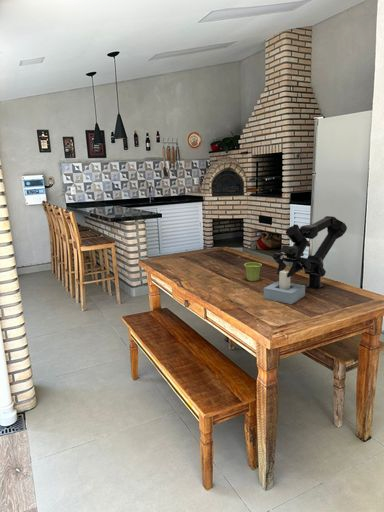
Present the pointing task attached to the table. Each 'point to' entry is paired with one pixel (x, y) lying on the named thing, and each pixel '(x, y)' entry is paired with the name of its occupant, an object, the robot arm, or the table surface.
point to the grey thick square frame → (284, 293)
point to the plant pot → (252, 270)
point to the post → (284, 280)
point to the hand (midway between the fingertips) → (282, 275)
